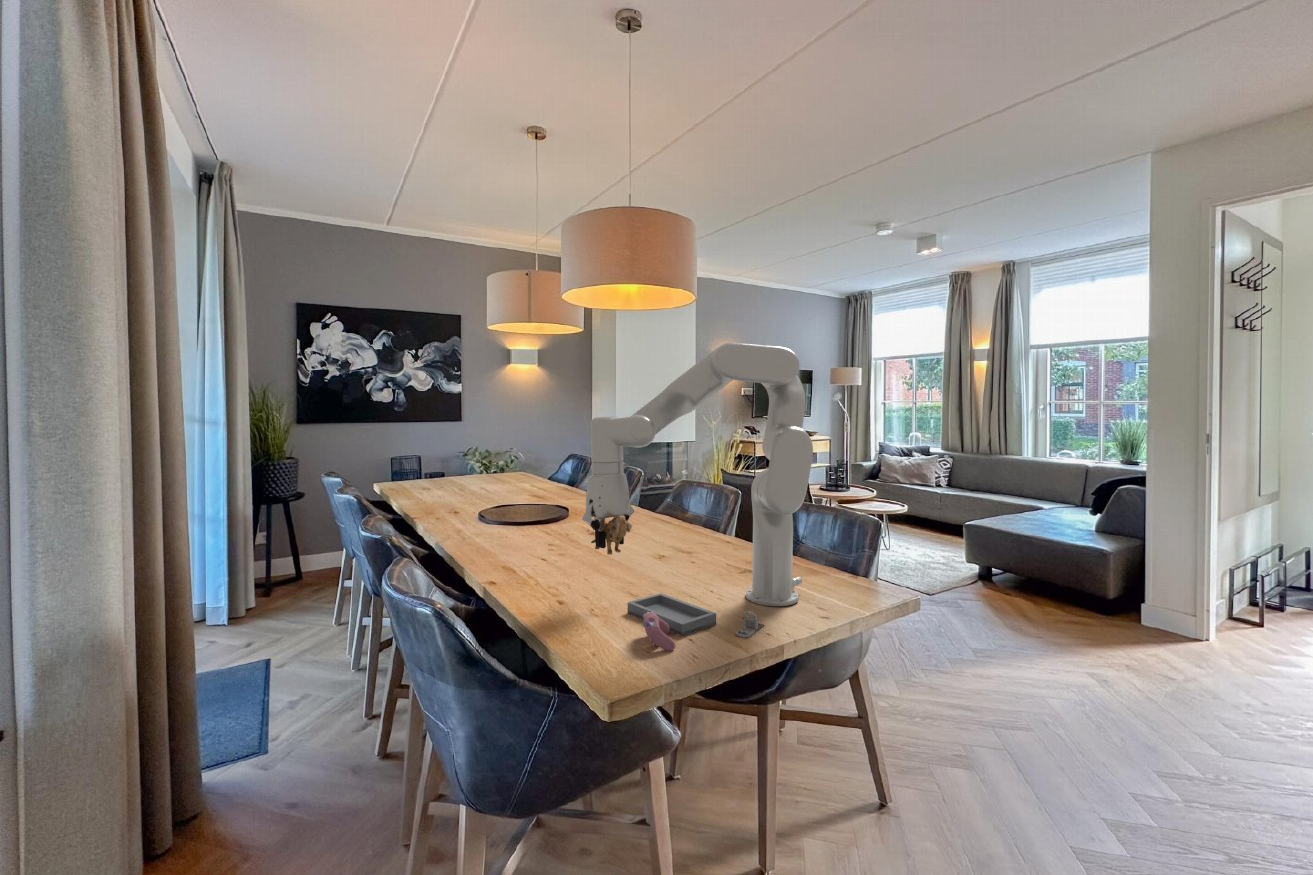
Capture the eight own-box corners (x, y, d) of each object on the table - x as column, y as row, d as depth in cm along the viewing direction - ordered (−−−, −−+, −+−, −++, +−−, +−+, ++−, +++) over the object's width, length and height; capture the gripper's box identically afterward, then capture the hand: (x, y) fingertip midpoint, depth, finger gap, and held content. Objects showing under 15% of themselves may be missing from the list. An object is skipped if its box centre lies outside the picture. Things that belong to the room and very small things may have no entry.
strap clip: (748, 640, 118) (748, 619, 118) (734, 637, 120) (734, 616, 120) (765, 627, 125) (766, 607, 125) (752, 624, 127) (753, 605, 127)
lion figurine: (635, 553, 137) (635, 515, 137) (617, 557, 134) (616, 518, 133) (599, 543, 148) (599, 507, 148) (581, 546, 145) (581, 510, 144)
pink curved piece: (651, 640, 122) (636, 611, 121) (671, 630, 122) (656, 600, 121) (656, 660, 112) (639, 629, 111) (677, 649, 112) (661, 617, 111)
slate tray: (660, 603, 140) (660, 593, 139) (716, 624, 126) (716, 613, 126) (627, 613, 133) (627, 602, 133) (682, 636, 119) (682, 624, 119)
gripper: (626, 465, 147) (628, 537, 148) (568, 471, 136) (571, 549, 137) (645, 466, 142) (647, 541, 143) (586, 473, 131) (589, 554, 131)
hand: (609, 544), depth 140 cm, fingers closed on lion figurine, 4 cm apart
